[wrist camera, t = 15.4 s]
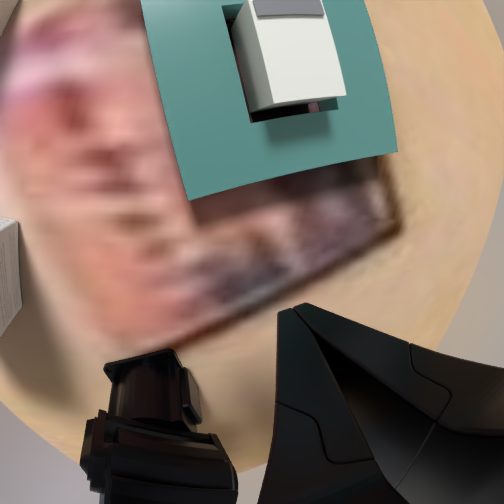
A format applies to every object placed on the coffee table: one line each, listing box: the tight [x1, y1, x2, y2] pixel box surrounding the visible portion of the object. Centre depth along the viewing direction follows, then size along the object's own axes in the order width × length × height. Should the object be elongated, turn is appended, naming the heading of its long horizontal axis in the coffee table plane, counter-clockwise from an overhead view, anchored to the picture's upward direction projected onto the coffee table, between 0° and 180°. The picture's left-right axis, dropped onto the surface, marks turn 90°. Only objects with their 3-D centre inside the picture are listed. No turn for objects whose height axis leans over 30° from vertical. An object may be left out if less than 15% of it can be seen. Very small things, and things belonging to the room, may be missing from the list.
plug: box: [230, 0, 346, 113], centre depth 13 cm, size 4×6×5 cm, turn 12°
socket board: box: [141, 0, 398, 201], centre depth 15 cm, size 14×14×2 cm
